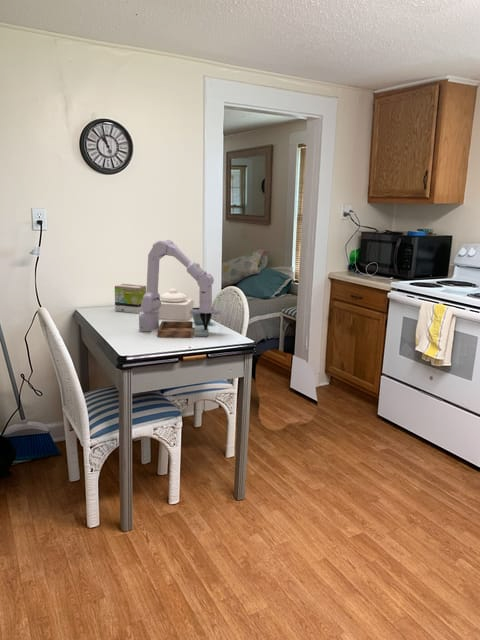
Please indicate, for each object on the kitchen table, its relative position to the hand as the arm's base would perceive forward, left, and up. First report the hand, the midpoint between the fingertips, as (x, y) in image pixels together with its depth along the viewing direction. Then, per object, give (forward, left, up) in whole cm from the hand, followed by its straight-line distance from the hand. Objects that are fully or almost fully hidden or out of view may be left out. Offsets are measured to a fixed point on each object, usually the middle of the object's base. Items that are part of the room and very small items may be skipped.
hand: (205, 329), depth 236 cm
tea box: (-43, +55, -3) cm, 70 cm away
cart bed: (-13, 0, -3) cm, 14 cm away
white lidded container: (-18, +42, -4) cm, 45 cm away
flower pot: (-2, +19, -3) cm, 20 cm away
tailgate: (-5, 0, -2) cm, 6 cm away
